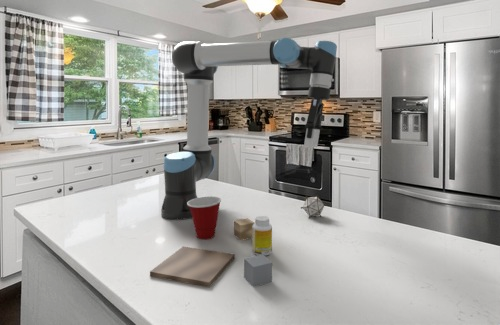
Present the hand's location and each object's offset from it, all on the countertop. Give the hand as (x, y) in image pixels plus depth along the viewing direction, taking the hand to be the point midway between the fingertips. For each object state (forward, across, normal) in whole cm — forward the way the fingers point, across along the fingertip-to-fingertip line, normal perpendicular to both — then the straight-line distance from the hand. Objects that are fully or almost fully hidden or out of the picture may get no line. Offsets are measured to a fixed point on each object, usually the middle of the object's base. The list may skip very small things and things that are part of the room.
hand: (310, 147), depth 122 cm
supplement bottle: (+30, -33, +4) cm, 45 cm away
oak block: (+30, -23, +14) cm, 40 cm away
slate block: (+31, -48, +1) cm, 57 cm away
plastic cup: (+32, -27, +25) cm, 49 cm away
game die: (+26, +4, -4) cm, 27 cm away
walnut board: (+32, -47, +18) cm, 60 cm away
